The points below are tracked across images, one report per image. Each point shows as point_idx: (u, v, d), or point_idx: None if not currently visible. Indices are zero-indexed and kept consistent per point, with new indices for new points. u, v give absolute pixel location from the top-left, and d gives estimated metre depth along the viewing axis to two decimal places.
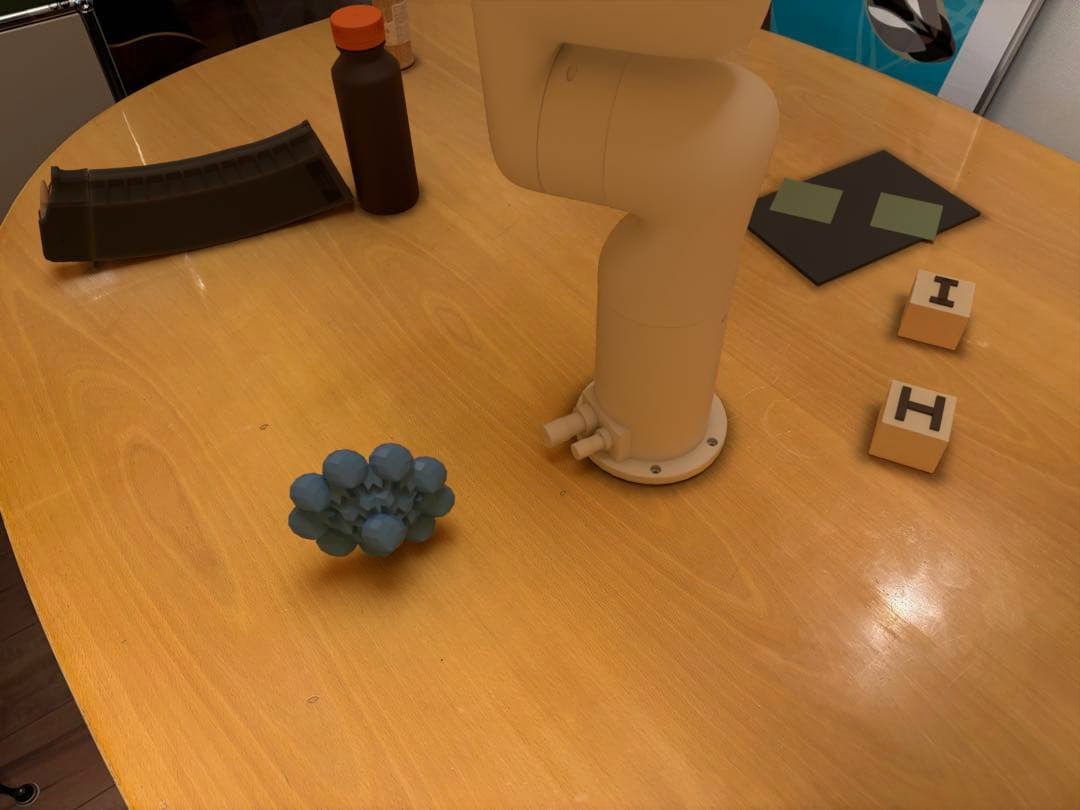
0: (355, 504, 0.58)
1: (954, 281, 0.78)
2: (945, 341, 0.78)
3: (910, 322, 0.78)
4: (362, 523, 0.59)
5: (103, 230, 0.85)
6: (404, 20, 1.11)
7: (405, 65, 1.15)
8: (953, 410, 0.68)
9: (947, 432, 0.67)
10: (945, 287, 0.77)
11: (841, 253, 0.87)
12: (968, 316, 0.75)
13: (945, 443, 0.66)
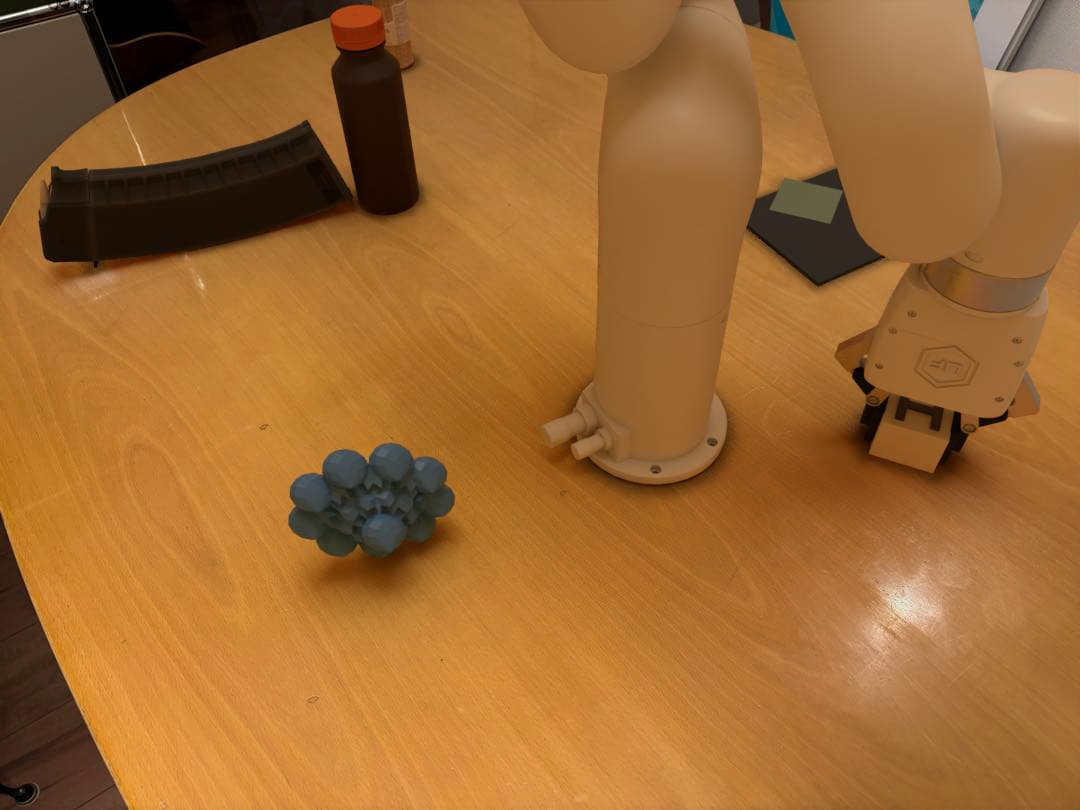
0: (355, 504, 0.58)
1: None
2: None
3: None
4: (362, 523, 0.59)
5: (103, 230, 0.85)
6: (404, 20, 1.11)
7: (405, 65, 1.15)
8: None
9: (947, 432, 0.67)
10: None
11: (841, 253, 0.87)
12: None
13: (945, 443, 0.66)
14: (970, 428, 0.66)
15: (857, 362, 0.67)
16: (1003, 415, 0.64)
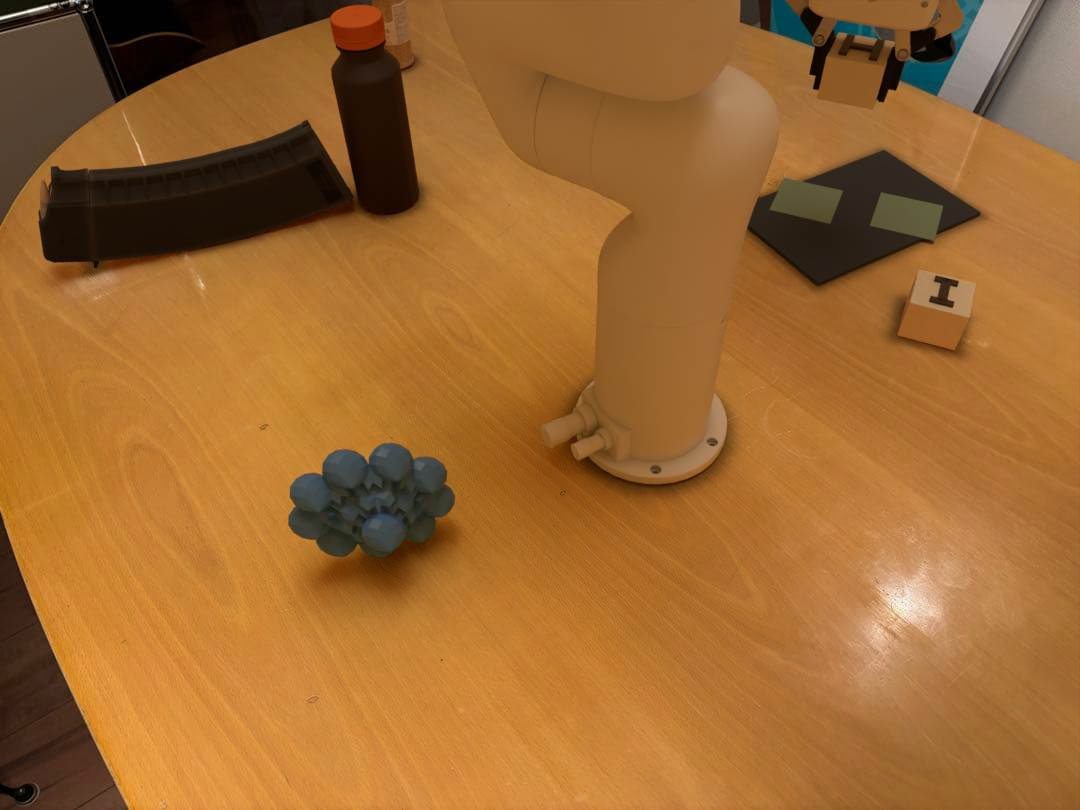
0: (355, 504, 0.58)
1: (954, 281, 0.78)
2: (945, 341, 0.78)
3: (910, 322, 0.78)
4: (362, 523, 0.59)
5: (103, 230, 0.85)
6: (404, 20, 1.11)
7: (405, 65, 1.15)
8: (891, 49, 0.76)
9: (884, 61, 0.75)
10: (945, 287, 0.77)
11: (841, 253, 0.87)
12: (968, 316, 0.75)
13: (882, 69, 0.75)
14: (904, 55, 0.74)
15: (804, 1, 0.75)
16: (931, 34, 0.73)
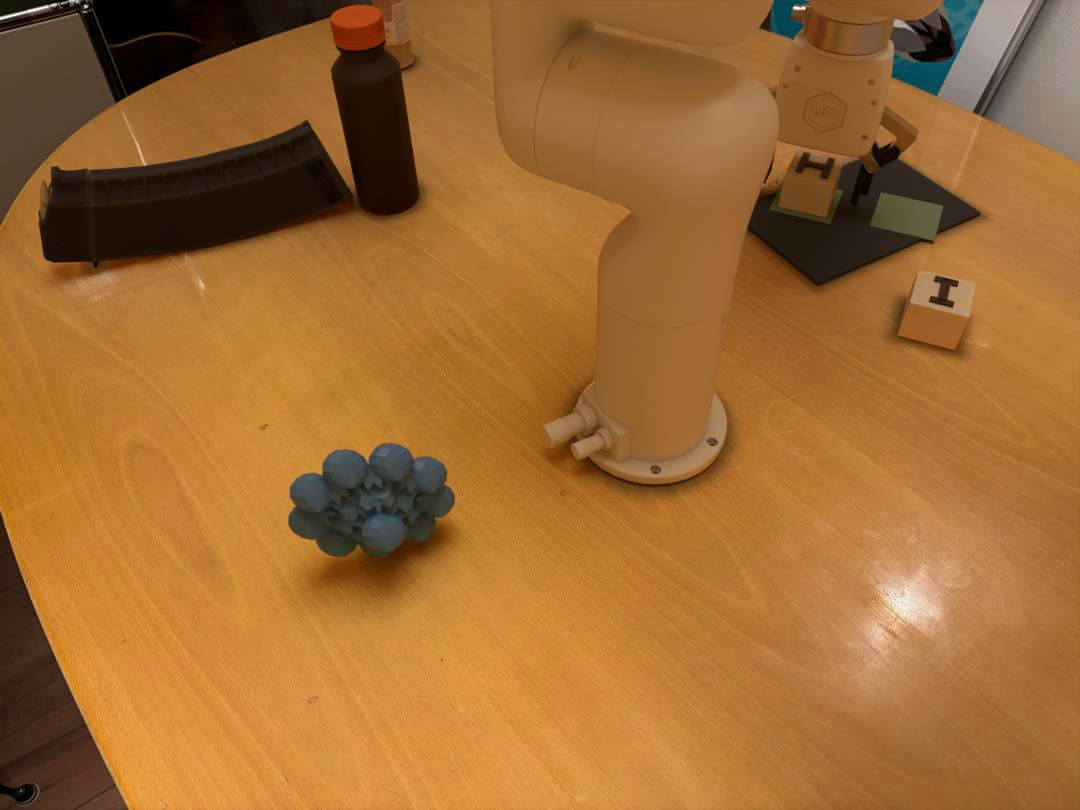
0: (355, 504, 0.58)
1: (954, 281, 0.78)
2: (945, 341, 0.78)
3: (910, 322, 0.78)
4: (362, 523, 0.59)
5: (103, 230, 0.85)
6: (404, 20, 1.11)
7: (405, 65, 1.15)
8: (840, 167, 0.90)
9: (833, 179, 0.88)
10: (945, 287, 0.77)
11: (841, 253, 0.87)
12: (968, 316, 0.75)
13: (831, 186, 0.88)
14: (874, 168, 0.86)
15: None
16: (896, 153, 0.84)
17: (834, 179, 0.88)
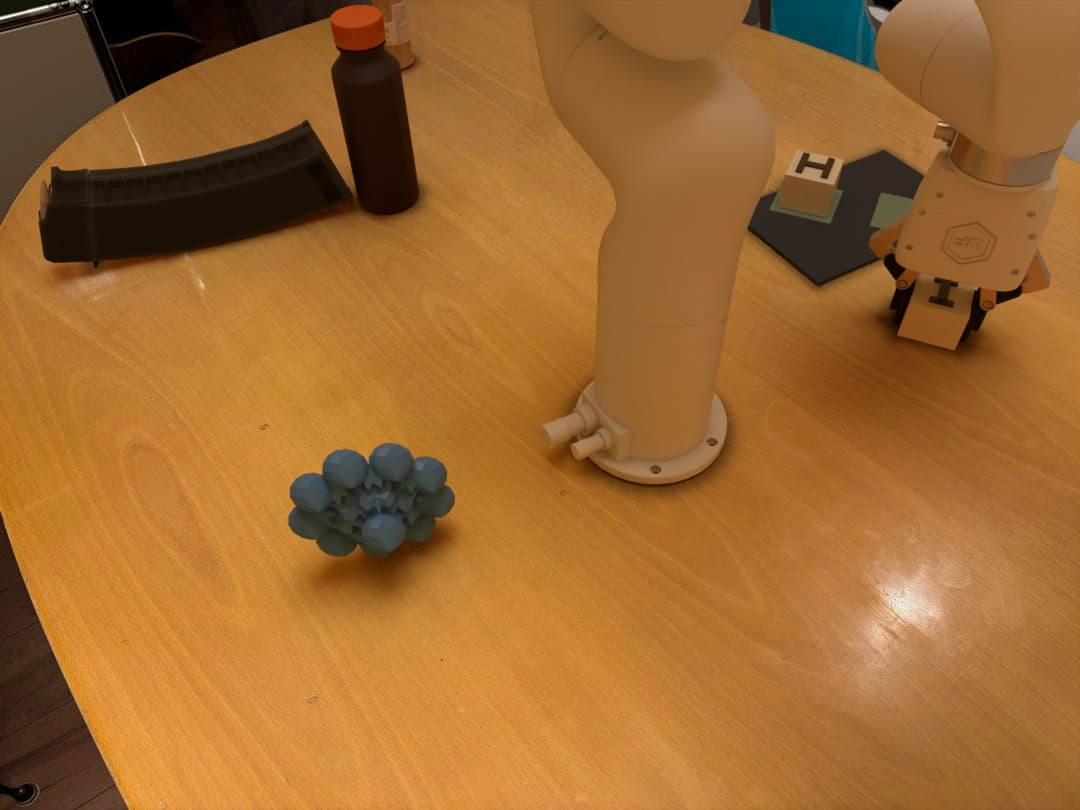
0: (355, 504, 0.58)
1: None
2: (945, 341, 0.78)
3: (909, 322, 0.78)
4: (362, 523, 0.59)
5: (103, 230, 0.85)
6: (404, 20, 1.11)
7: (405, 65, 1.15)
8: (840, 167, 0.90)
9: (833, 179, 0.88)
10: (945, 287, 0.77)
11: (841, 253, 0.87)
12: (968, 316, 0.75)
13: (831, 186, 0.88)
14: (988, 306, 0.75)
15: (889, 249, 0.76)
16: (1017, 291, 0.73)
17: (834, 179, 0.88)
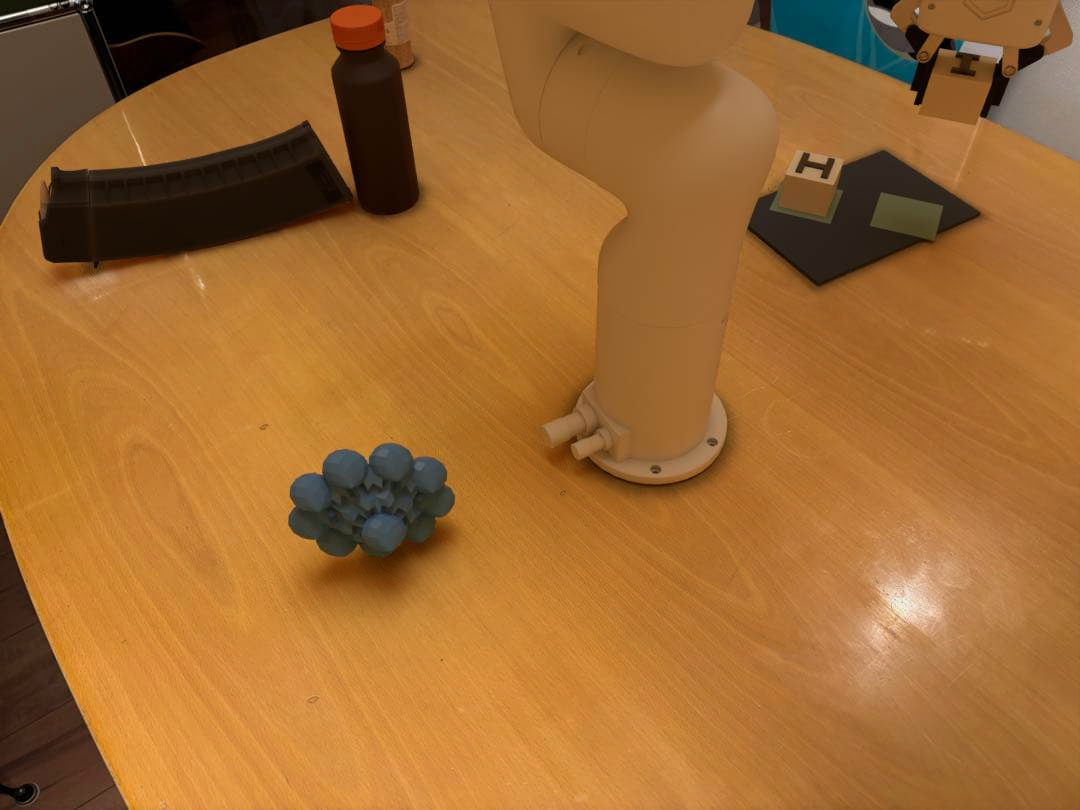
0: (355, 504, 0.58)
1: (975, 55, 0.78)
2: (966, 116, 0.78)
3: (931, 97, 0.78)
4: (362, 523, 0.59)
5: (103, 231, 0.85)
6: (404, 20, 1.11)
7: (405, 65, 1.15)
8: (840, 167, 0.90)
9: (833, 179, 0.88)
10: (967, 60, 0.77)
11: (841, 253, 0.87)
12: (990, 82, 0.75)
13: (831, 186, 0.88)
14: (1010, 72, 0.75)
15: (910, 18, 0.76)
16: (1040, 52, 0.73)
17: (834, 179, 0.88)
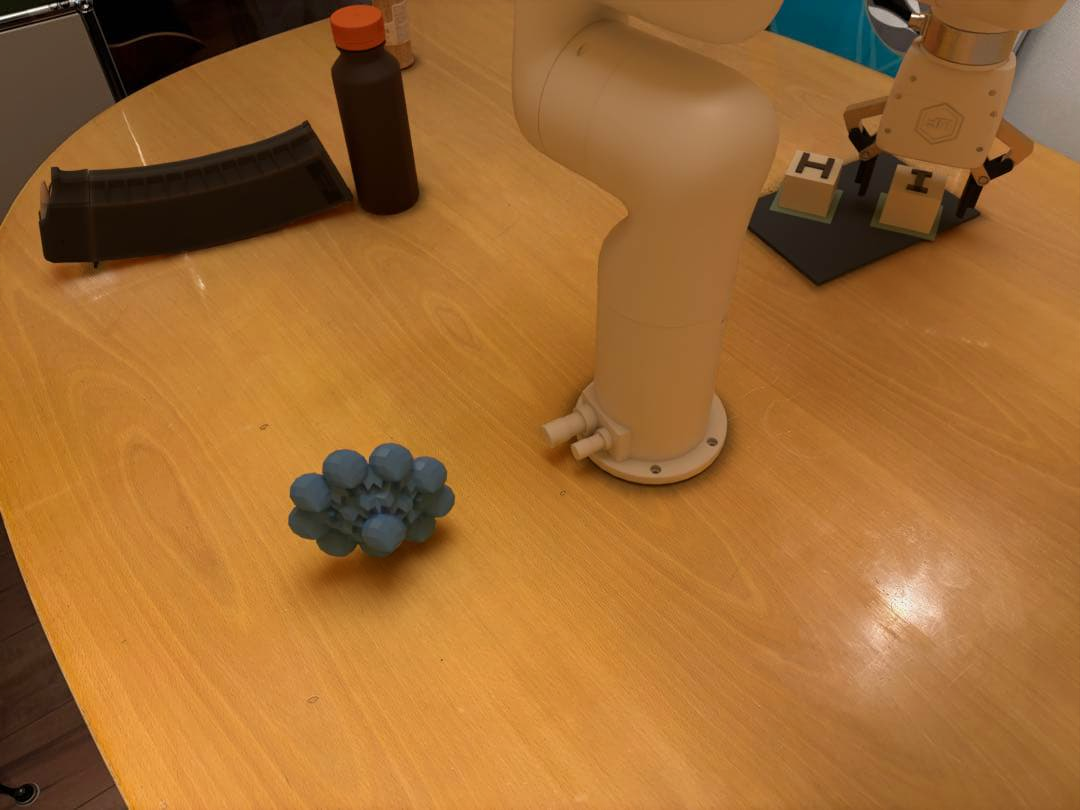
0: (355, 504, 0.58)
1: (928, 172, 0.88)
2: (921, 226, 0.88)
3: (889, 209, 0.88)
4: (362, 523, 0.59)
5: (103, 231, 0.85)
6: (404, 20, 1.11)
7: (405, 65, 1.15)
8: (840, 167, 0.90)
9: (833, 179, 0.88)
10: (920, 177, 0.88)
11: (841, 253, 0.87)
12: (940, 200, 0.86)
13: (831, 186, 0.88)
14: (985, 180, 0.83)
15: (858, 123, 0.85)
16: (1009, 165, 0.82)
17: (834, 179, 0.88)
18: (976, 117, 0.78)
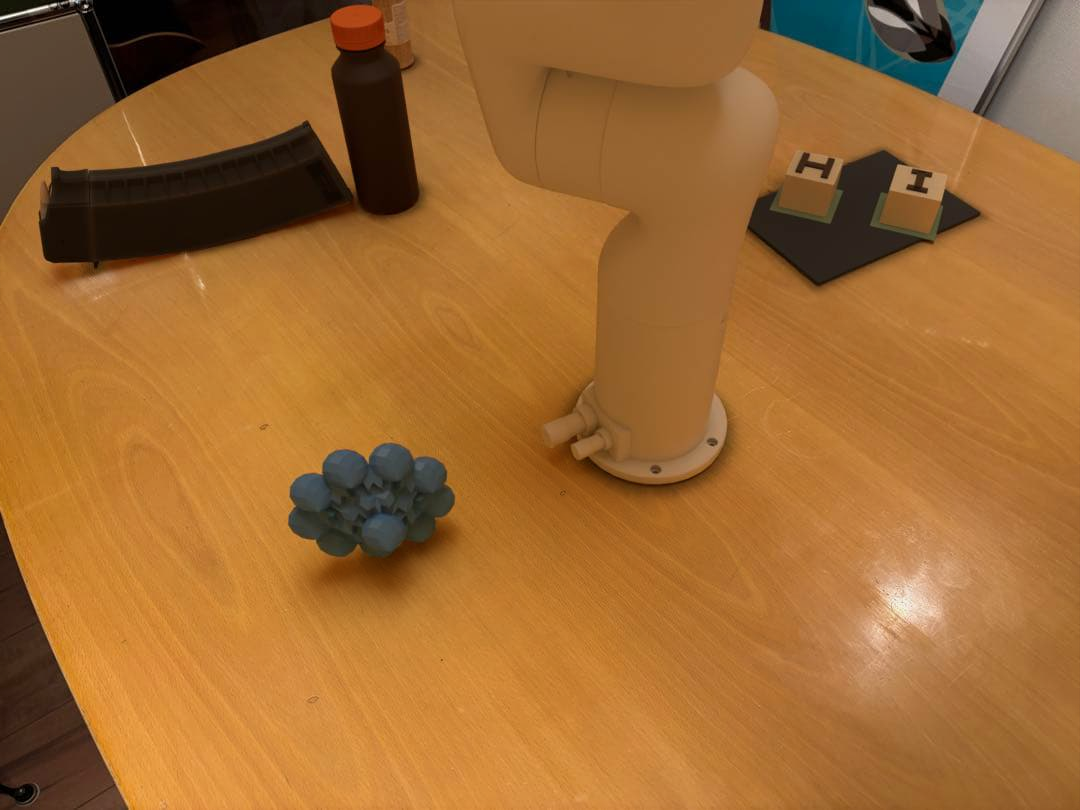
0: (355, 504, 0.58)
1: (928, 172, 0.88)
2: (921, 226, 0.88)
3: (889, 209, 0.88)
4: (362, 523, 0.59)
5: (103, 231, 0.85)
6: (404, 20, 1.11)
7: (405, 65, 1.15)
8: (840, 167, 0.90)
9: (833, 179, 0.88)
10: (920, 177, 0.88)
11: (841, 253, 0.87)
12: (940, 200, 0.86)
13: (831, 186, 0.88)
14: None
15: None
16: None
17: (834, 179, 0.88)
18: None
